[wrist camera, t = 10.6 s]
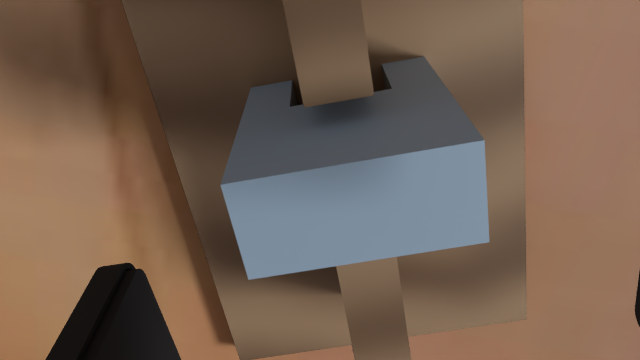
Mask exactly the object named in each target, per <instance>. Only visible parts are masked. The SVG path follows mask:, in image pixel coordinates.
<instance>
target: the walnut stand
mask: <svg viewBox="0 0 640 360" xmlns="http://www.w3.org/2000/svg"><path fill="white" fill-rule="evenodd" d="M121 1H122V4H123V7H124V10H125V13H126V16H127V19H128V22H129V25H130V28H131V31H132V34H133V37H134V40H135V43H136V46H137V49H138V52H139V55H140V58H141V62H142V65H143V68H144V71H145V74H146V77H147V80H148V83H149V86H150V89H151V92H152V95H153V98H154V101H155V104H156V107H157V110H158V113H159V116H160V119H161V122H162V125H163V128H164V131H165V134H166V137H167V140H168V143H169V146H170V149H171V152H172V156H173V159H174V162H175V165H176V168H177V171H178V174H179V177H180V180H181V183H182V186H183V189H184V192H185V195H186V198H187V201H188V204H189V207H190V210H191V213H192V216H193V219H194V222H195V225H196V228H197V231H198V234H199V237H200V240H201V243H202V246H203V250H204V253H205V256H206V259H207V262H208V265H209V268H210V271H211V274H212V277H213V280H214V283H215V286H216V289H217V292H218V295H219V298H220V301H221V304H222V307H223V310H224V313H225V316H226V319H227V322H228V325H229V328H230V331H231V334H232V337H233V340H234V344H235V347H236V350H237V353H238V356H239V359H240V360H251V359H258V358H265V357H272V356H279V355H286V354H293V353H299V352H306V351H313V350H320V349H327V348H334V347H341V346H348V345H352V348H353V353H354V358H355V360H411V355H410V348H409V341H408V337H409V336H416V335H423V334H430V333H437V332H444V331H451V330H457V329H464V328H471V327H478V326H485V325H492V324H499V323H506V322H512V321H519V320H526V319H527V307H526V220H525V132H524V45H523V0H121ZM418 57H425V58H426V60H427V61H428V62H429V64H430V65H431V66H432V68H433V69H434V71H435V72H436V73H437V75H438V76H439V78H440V79H441V80H442V82H443V83H444V85H445V86H446V87H447V89H448V90H449V91H450V93H451V94H452V96H453V97H454V98H455V100H456V101H457V103H458V104H459V105H460V107H461V108H462V110H463V111H464V112H465V114H466V115H467V116H468V118H469V119H470V121H471V122H472V123H473V125H474V126H475V128H476V129H477V130H478V132H479V133H480V135H481V136H482V137H483V139H484V140H485V160H486V181H487V202H488V222H489V242H487V243H481V244H475V245H468V246H462V247H455V248H449V249H443V250H436V251H430V252H424V253H417V254H411V255H404V256H398V257H392V258H385V259H379V260H372V261H366V262H360V263H353V264H347V265H340V266H334V267H328V268H321V269H315V270H308V271H302V272H296V273H289V274H283V275H277V276H270V277H264V278H257V279H251V280H248V277H247V273H246V270H245V266H244V263H243V260H242V256H241V253H240V250H239V246H238V243H237V239H236V236H235V233H234V229H233V226H232V223H231V219H230V216H229V212H228V209H227V206H226V202H225V199H224V195H223V192H222V189H221V185H220V184H221V181H222V178H223V175H224V172H225V168H226V165H227V162H228V159H229V156H230V153H231V149H232V146H233V143H234V140H235V137H236V134H237V130H238V127H239V124H240V121H241V118H242V115H243V111H244V108H245V105H246V102H247V99H248V96H249V92H250V89H251V88H252V87H257V86H263V85H268V84H274V83H280V82H285V81H291V80H292V81H293V86H294V91H295V95H296V100H297V105H304V108H305V107H311V106H316V105H322V104H328V103H334V102H339V101H345V100H351V99H356V98H362V97H368V96H373V95H374V92H376V91H382V90H385V86H384V79H383V71H382V64H385V63H391V62H396V61H402V60H407V59H413V58H418Z"/></svg>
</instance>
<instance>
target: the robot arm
mask: <svg viewBox="0 0 640 360" xmlns="http://www.w3.org/2000/svg"><path fill="white" fill-rule="evenodd" d="M635 315H636V319H637V322H638V324H639V326H640V272H639V280H638V288H637V296H636V304H635ZM46 360H181V358H180V356H179V353H178V351H177V349H176V346H175V344H174V341H173V339H172V337H171V334H170V332H169V329H168V327H167V325H166V322H165V320H164V318H163V315H162V313H161V310H160V308H159V306H158V303H157V301H156V298H155V296H154V294H153V291H152V289H151V287H150V284H149V282H148V279H147V277H146V275H145V273H144V271H143V270H142V269H135V267H134V266H133V265H132V264H131V263H123V264H116V265H109V266H103V267H100V268H98V269H97V270H96V271H95V273H94V275H93V277H92V279H91V280H90V282H89V284H88V286H87V287H86V289H85V291H84V293H83V294H82V296H81V298H80V300H79V302H78V303H77V305H76V307H75V309H74V310H73V312H72V314H71V316H70V317H69V319H68V321H67V323H66V325H65V326H64V328H63V330H62V332H61V333H60V335H59V337H58V339H57V340H56V342H55V344H54V346H53V347H52V349H51V351H50V353H49V355H48V356H47V358H46Z"/></svg>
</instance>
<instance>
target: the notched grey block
mask: <svg viewBox="0 0 640 360" xmlns="http://www.w3.org/2000/svg"><path fill="white" fill-rule="evenodd" d="M382 71H383V79H384V86H385V90H382V91H376V92H374V95H373V96H368V97H362V98H356V99H351V100H345V101H339V102H334V103H328V104H322V105H316V106H311V107H305V108H304V105H297V100H296V95H295V91H294V86H293V81H292V80H291V81H285V82H280V83H274V84H268V85H263V86H257V87H252V88H251V89H250V92H249V96H248V99H247V102H246V105H245V108H244V111H243V115H242V118H241V121H240V124H239V127H238V130H237V134H236V137H235V140H234V143H233V146H232V149H231V153H230V156H229V159H228V162H227V165H226V168H225V172H224V175H223V178H222V181H221V184H220V185H221V189H222V192H223V195H224V199H225V202H226V206H227V209H228V212H229V216H230V219H231V223H232V226H233V229H234V233H235V236H236V239H237V243H238V246H239V250H240V253H241V256H242V260H243V263H244V266H245V270H246V273H247V277H248V280H251V279H257V278H264V277H270V276H277V275H283V274H289V273H296V272H302V271H308V270H315V269H321V268H328V267H334V266H340V265H347V264H353V263H360V262H366V261H372V260H379V259H385V258H392V257H398V256H404V255H411V254H417V253H424V252H430V251H436V250H443V249H449V248H455V247H462V246H468V245H475V244H481V243H487V242H489V222H488V202H487V181H486V160H485V140H484V139H483V137H482V136H481V135H480V133H479V132H478V130H477V129H476V128H475V126H474V125H473V123H472V122H471V121H470V119H469V118H468V116H467V115H466V114H465V112H464V111H463V110H462V108H461V107H460V105H459V104H458V103H457V101H456V100H455V98H454V97H453V96H452V94H451V93H450V91H449V90H448V89H447V87H446V86H445V85H444V83H443V82H442V80H441V79H440V78H439V76H438V75H437V73H436V72H435V71H434V69H433V68H432V66H431V65H430V64H429V62H428V61H427V60H426V58H425V57H418V58H413V59H407V60H402V61H396V62H391V63H385V64H382Z"/></svg>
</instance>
